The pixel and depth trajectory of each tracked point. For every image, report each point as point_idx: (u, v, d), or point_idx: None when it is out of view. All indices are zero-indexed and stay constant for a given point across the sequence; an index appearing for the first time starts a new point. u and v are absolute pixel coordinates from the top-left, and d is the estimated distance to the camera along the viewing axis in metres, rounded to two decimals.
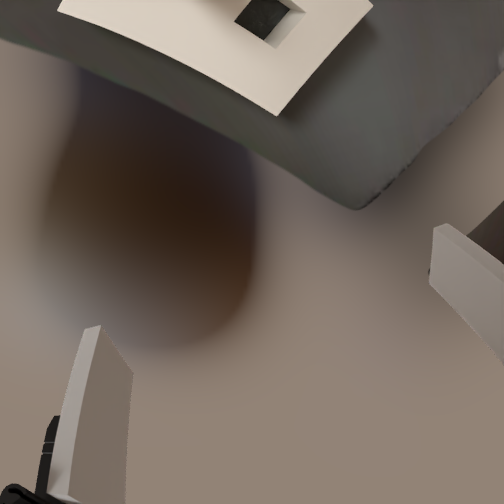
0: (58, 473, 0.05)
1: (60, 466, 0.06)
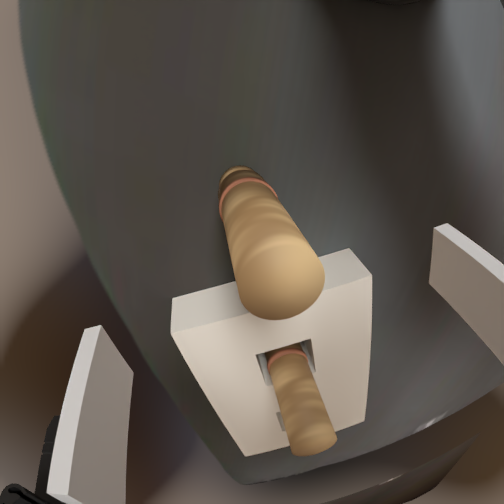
0: (58, 473, 0.05)
1: (60, 466, 0.06)
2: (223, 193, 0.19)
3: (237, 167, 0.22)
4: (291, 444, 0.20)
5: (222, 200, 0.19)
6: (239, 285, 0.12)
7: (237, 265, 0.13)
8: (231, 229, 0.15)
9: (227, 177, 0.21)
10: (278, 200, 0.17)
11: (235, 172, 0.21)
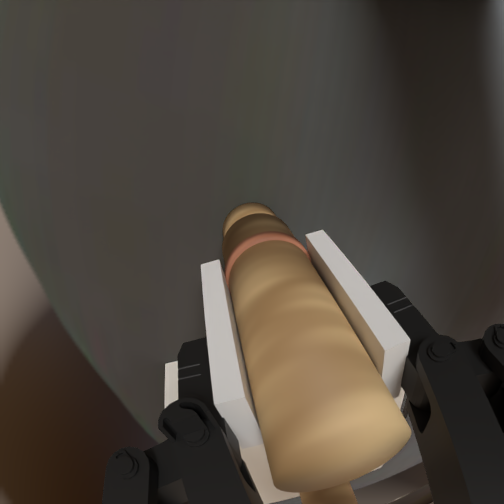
0: (224, 381, 0.07)
1: (225, 374, 0.08)
2: (231, 257, 0.13)
3: (248, 206, 0.16)
4: None
5: (230, 269, 0.12)
6: (275, 477, 0.06)
7: (270, 439, 0.06)
8: (251, 346, 0.09)
9: (235, 225, 0.14)
10: (319, 277, 0.11)
11: (247, 218, 0.14)
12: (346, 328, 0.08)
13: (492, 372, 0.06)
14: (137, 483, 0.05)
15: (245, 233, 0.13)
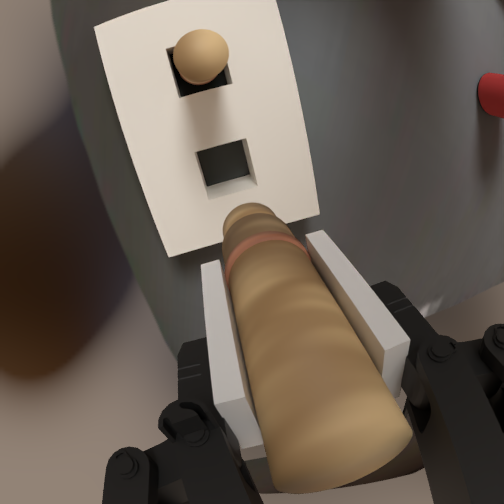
0: (224, 381, 0.07)
1: (224, 374, 0.08)
2: (231, 257, 0.13)
3: (248, 206, 0.16)
4: (173, 52, 0.17)
5: (230, 269, 0.12)
6: (276, 478, 0.06)
7: (270, 440, 0.06)
8: (251, 346, 0.09)
9: (235, 225, 0.14)
10: (320, 277, 0.11)
11: (247, 218, 0.14)
12: (347, 328, 0.08)
13: (492, 372, 0.06)
14: (137, 483, 0.05)
15: (245, 233, 0.13)
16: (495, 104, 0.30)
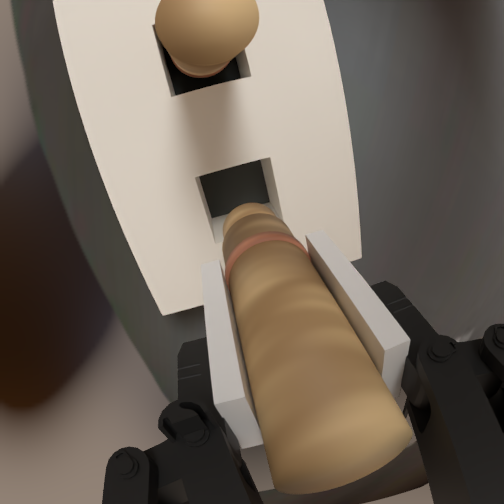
0: (224, 381, 0.07)
1: (225, 374, 0.08)
2: (231, 257, 0.13)
3: (248, 206, 0.16)
4: None
5: (230, 269, 0.12)
6: (276, 479, 0.06)
7: (270, 440, 0.06)
8: (251, 347, 0.09)
9: (235, 226, 0.14)
10: (320, 278, 0.11)
11: (247, 218, 0.14)
12: (347, 329, 0.08)
13: (492, 372, 0.06)
14: (137, 483, 0.05)
15: (245, 233, 0.13)
16: None
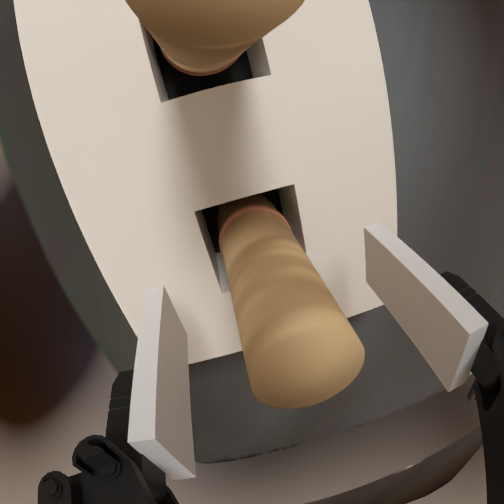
0: (140, 420, 0.07)
1: (142, 412, 0.07)
2: (224, 225, 0.15)
3: None
4: None
5: (223, 235, 0.15)
6: (252, 378, 0.08)
7: (248, 348, 0.09)
8: (237, 285, 0.11)
9: (228, 202, 0.17)
10: (295, 238, 0.14)
11: None
12: (311, 270, 0.11)
13: None
14: (63, 503, 0.05)
15: (236, 207, 0.16)
16: None
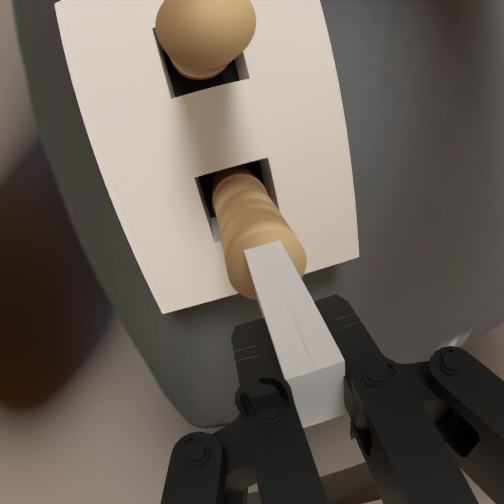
0: (292, 357, 0.08)
1: (291, 350, 0.08)
2: (216, 188, 0.20)
3: None
4: None
5: (215, 194, 0.20)
6: (228, 267, 0.13)
7: (226, 249, 0.14)
8: (222, 219, 0.16)
9: (220, 173, 0.22)
10: (266, 193, 0.19)
11: (227, 169, 0.22)
12: (273, 207, 0.16)
13: (438, 399, 0.06)
14: (207, 471, 0.06)
15: (225, 175, 0.21)
16: None
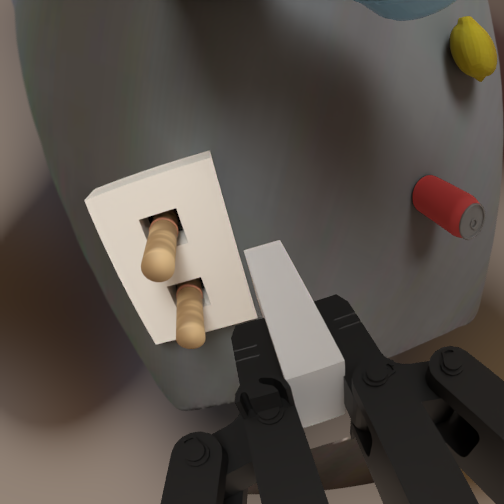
0: (292, 357, 0.08)
1: (291, 350, 0.08)
2: (177, 291, 0.42)
3: None
4: (141, 264, 0.31)
5: (177, 294, 0.42)
6: (176, 338, 0.35)
7: (176, 331, 0.36)
8: (176, 314, 0.38)
9: None
10: (198, 298, 0.41)
11: None
12: (196, 310, 0.38)
13: (438, 399, 0.06)
14: (207, 471, 0.06)
15: (182, 283, 0.43)
16: (424, 211, 0.44)
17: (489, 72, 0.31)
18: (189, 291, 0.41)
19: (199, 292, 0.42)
